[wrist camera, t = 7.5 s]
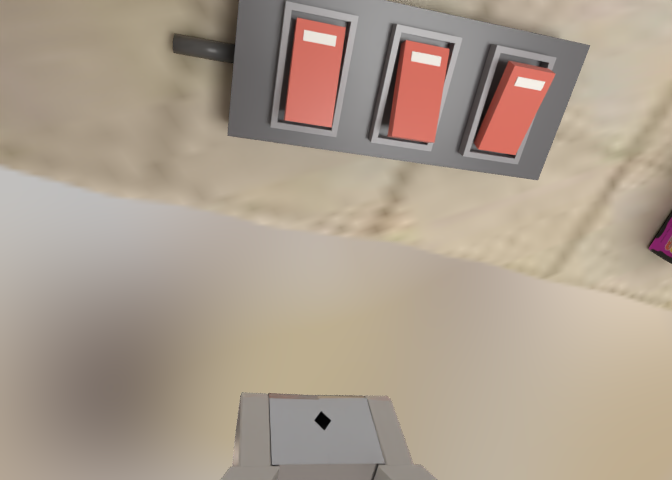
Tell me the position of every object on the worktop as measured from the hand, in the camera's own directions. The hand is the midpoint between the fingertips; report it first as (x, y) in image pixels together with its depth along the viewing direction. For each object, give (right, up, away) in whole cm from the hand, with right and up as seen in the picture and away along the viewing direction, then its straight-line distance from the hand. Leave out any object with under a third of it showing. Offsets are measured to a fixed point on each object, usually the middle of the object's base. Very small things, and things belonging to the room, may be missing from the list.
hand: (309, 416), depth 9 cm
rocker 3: (+13, +13, +23) cm, 29 cm away
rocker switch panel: (+3, +16, +25) cm, 30 cm away
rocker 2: (+6, +13, +21) cm, 26 cm away
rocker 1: (-1, +14, +20) cm, 24 cm away
